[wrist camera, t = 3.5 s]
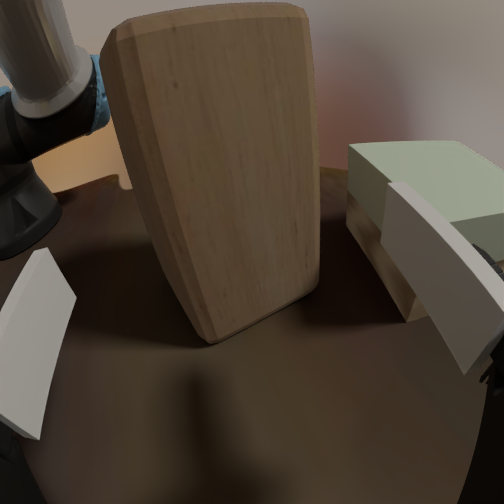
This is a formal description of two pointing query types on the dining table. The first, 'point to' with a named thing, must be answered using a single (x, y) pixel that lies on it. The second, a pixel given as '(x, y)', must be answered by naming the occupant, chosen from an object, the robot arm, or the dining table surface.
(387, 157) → the tower top slab
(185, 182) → the block
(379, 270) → the tower base slab
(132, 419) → the dining table surface
